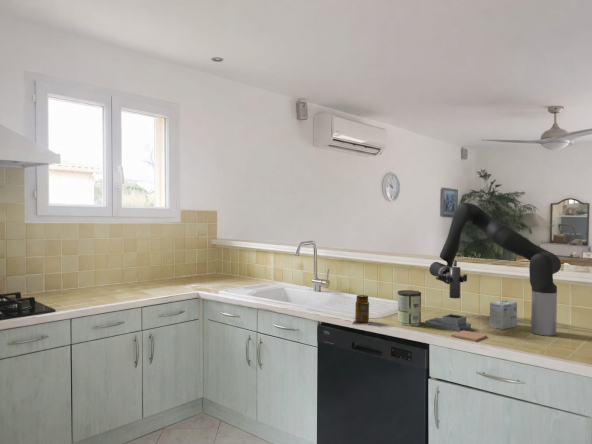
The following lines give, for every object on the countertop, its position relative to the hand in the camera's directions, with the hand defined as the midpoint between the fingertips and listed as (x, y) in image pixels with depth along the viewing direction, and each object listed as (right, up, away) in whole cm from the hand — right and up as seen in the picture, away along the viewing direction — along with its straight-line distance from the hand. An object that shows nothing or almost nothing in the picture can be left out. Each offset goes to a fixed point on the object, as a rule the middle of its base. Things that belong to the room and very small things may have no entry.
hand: (456, 279), depth 194 cm
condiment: (-39, -21, +12) cm, 46 cm away
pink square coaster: (+1, -21, -11) cm, 24 cm away
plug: (0, -8, +3) cm, 8 cm away
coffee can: (-17, -21, +11) cm, 30 cm away
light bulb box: (+23, -22, +7) cm, 32 cm away
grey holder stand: (-2, -21, +5) cm, 22 cm away
